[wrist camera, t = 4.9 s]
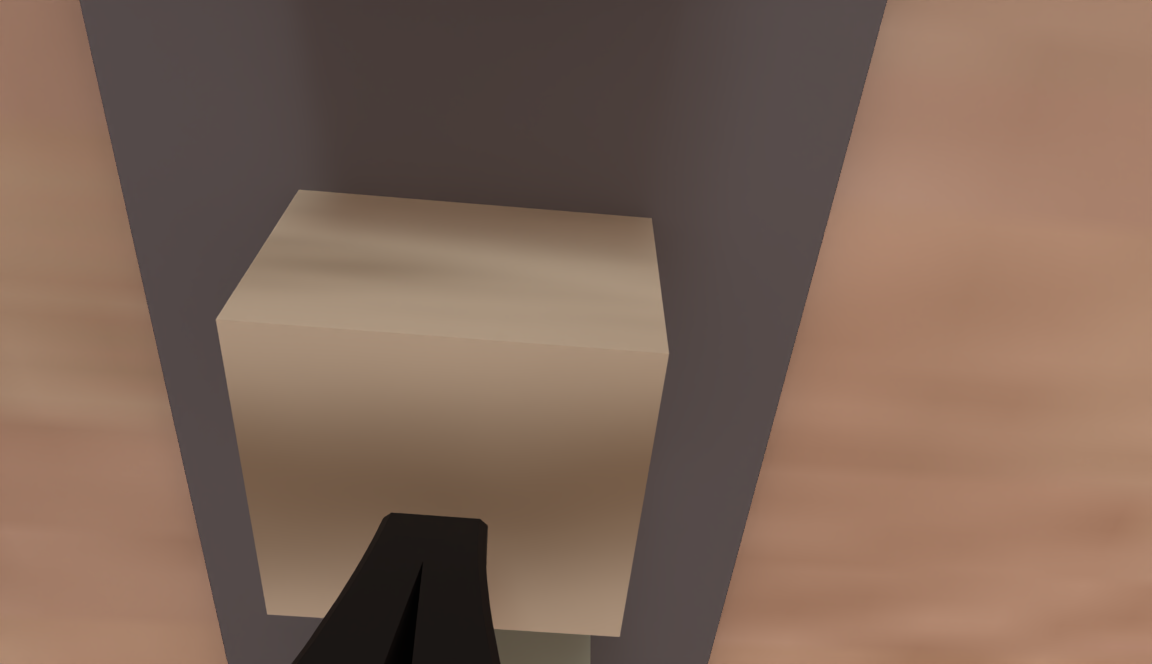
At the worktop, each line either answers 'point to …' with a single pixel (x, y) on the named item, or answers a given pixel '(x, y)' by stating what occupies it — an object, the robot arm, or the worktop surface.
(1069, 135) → the worktop surface
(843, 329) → the worktop surface
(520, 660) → the numeral block seven
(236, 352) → the plain block
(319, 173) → the tap mat
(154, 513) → the worktop surface
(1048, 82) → the worktop surface
